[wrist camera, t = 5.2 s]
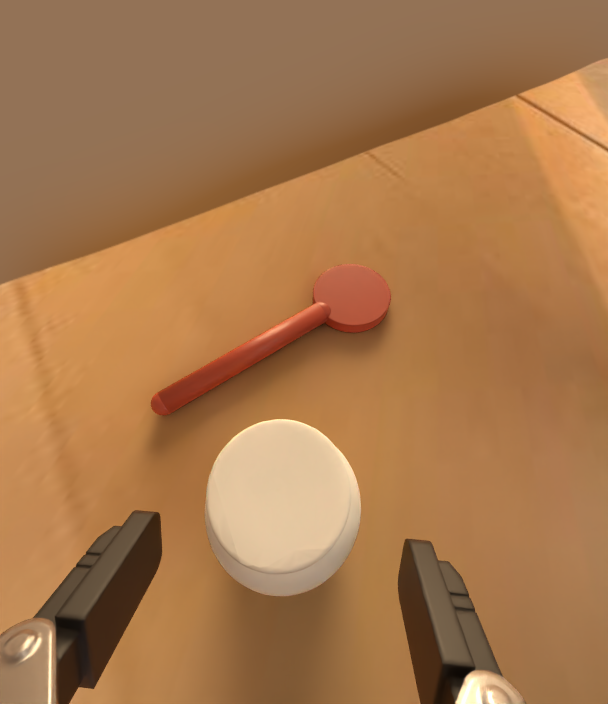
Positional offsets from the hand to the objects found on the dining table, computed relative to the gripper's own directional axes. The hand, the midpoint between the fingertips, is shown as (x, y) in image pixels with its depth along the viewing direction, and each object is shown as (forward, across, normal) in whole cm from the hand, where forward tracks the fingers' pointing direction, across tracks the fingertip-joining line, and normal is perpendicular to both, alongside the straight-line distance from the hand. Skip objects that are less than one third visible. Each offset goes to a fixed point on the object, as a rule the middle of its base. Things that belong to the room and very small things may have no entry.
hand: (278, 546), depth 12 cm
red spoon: (+13, +2, -3) cm, 13 cm away
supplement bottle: (+6, 0, +4) cm, 7 cm away
